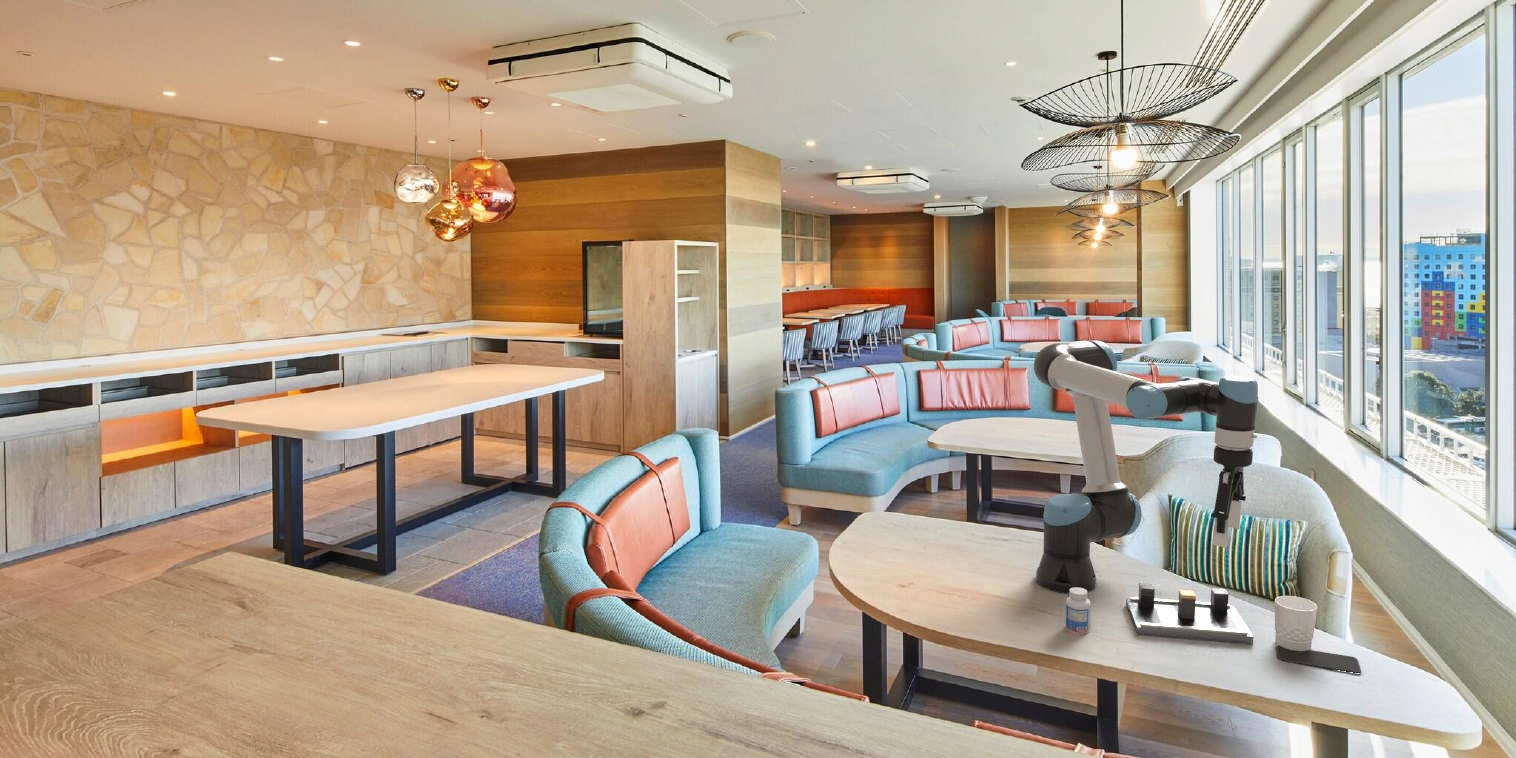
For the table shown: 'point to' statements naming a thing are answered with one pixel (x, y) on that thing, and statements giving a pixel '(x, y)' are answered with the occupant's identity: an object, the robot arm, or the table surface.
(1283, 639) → the white cup
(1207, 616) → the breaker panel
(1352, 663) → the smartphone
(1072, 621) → the pill bottle
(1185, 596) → the breaker
